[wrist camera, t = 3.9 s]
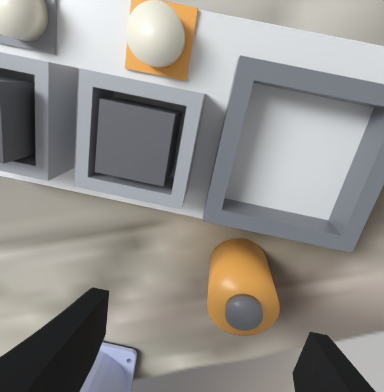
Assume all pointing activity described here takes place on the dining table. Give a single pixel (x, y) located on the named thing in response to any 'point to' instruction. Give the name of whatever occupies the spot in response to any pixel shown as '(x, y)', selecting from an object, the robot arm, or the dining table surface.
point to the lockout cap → (241, 289)
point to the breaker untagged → (16, 119)
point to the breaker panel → (207, 112)
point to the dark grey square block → (136, 140)
